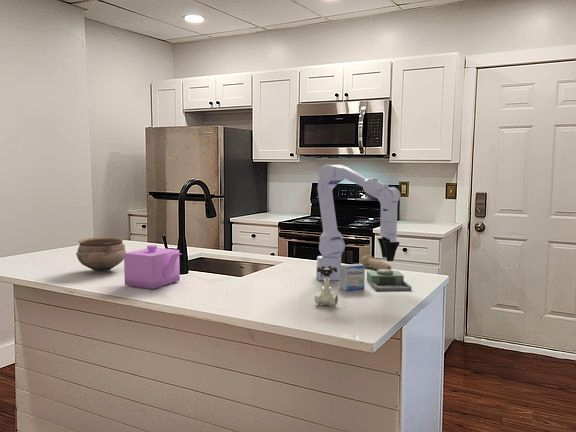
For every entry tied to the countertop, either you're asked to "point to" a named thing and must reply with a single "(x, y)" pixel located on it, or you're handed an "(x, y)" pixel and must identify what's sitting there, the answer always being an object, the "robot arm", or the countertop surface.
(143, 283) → the teapot
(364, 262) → the handle
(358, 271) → the medicine box
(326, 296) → the valve
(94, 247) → the cooking pot
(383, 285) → the gray rectangular tray
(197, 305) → the countertop surface
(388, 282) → the green block with dome
